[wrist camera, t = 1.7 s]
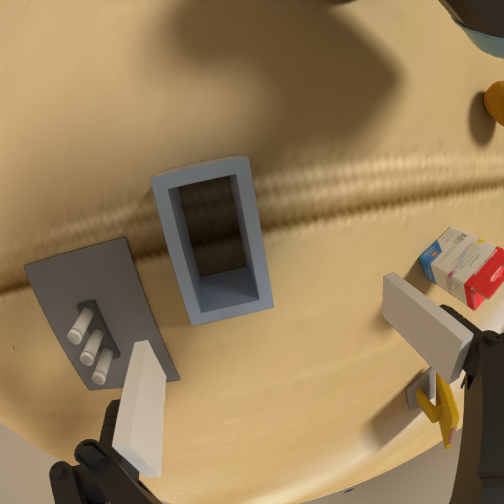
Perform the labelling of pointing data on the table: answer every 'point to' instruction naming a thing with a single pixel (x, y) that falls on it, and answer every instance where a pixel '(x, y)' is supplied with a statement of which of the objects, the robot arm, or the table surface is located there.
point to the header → (98, 311)
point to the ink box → (464, 266)
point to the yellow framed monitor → (445, 403)
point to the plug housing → (181, 252)
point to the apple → (495, 101)
